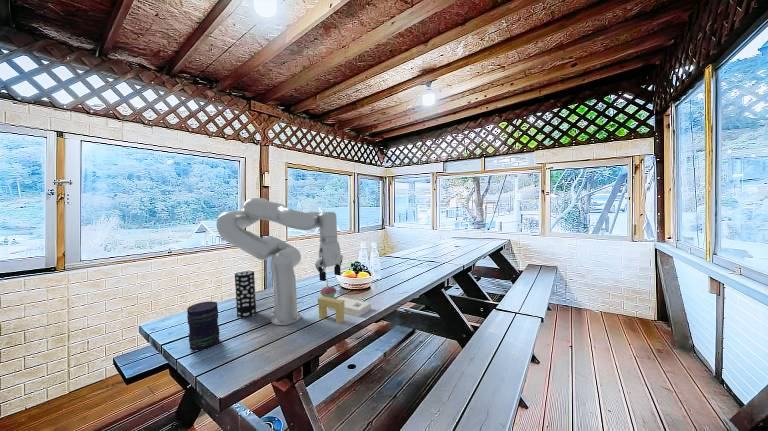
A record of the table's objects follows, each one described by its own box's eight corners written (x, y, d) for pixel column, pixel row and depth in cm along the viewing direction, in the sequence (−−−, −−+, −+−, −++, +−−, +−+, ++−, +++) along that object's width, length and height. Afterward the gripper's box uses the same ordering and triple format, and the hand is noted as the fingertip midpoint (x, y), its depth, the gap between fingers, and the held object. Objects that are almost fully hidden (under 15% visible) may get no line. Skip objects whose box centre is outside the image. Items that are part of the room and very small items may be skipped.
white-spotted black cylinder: (232, 316, 133) (230, 274, 132) (247, 310, 141) (245, 270, 140) (246, 319, 130) (243, 276, 129) (260, 312, 138) (258, 271, 137)
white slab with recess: (327, 309, 140) (327, 303, 139) (340, 302, 148) (340, 296, 148) (359, 316, 130) (358, 310, 130) (371, 309, 138) (370, 303, 138)
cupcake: (334, 302, 148) (334, 280, 147) (318, 303, 148) (317, 280, 147) (337, 296, 157) (337, 275, 156) (322, 297, 157) (321, 275, 156)
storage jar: (214, 335, 115) (212, 299, 114) (224, 342, 109) (222, 304, 108) (185, 345, 107) (182, 307, 106) (194, 354, 101) (191, 313, 100)
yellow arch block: (318, 317, 130) (317, 298, 129) (323, 315, 133) (322, 296, 132) (340, 323, 123) (339, 303, 122) (345, 320, 126) (344, 300, 125)
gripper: (321, 243, 116) (323, 284, 117) (347, 237, 131) (349, 273, 132) (308, 242, 120) (310, 281, 121) (335, 236, 135) (336, 272, 136)
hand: (330, 277), depth 127 cm, fingers open, 9 cm apart
